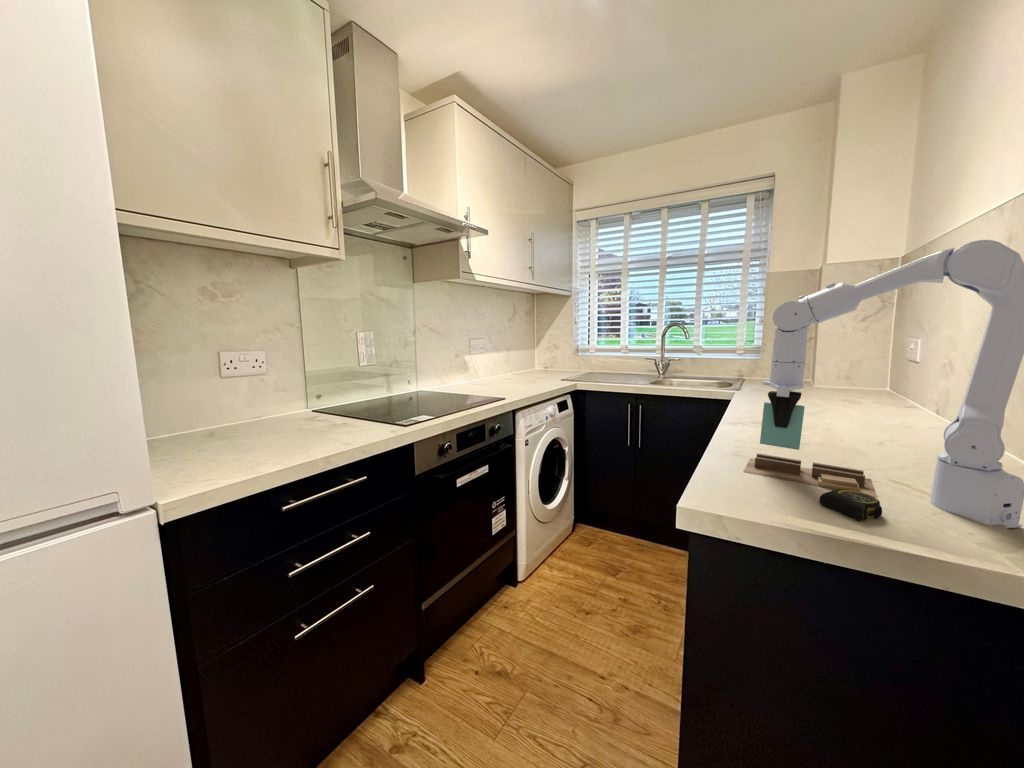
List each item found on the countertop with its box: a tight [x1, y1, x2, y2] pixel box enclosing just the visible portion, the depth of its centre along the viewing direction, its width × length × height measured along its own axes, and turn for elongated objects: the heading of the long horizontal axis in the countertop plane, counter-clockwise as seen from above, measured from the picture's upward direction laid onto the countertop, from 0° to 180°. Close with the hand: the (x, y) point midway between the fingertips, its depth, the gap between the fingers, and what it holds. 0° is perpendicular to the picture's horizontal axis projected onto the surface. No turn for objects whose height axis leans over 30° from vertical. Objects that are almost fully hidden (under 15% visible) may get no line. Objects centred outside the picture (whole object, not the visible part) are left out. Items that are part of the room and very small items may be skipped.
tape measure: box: [819, 489, 883, 522], centre depth 67 cm, size 7×7×4 cm
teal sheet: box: [759, 401, 805, 451], centre depth 86 cm, size 2×7×9 cm, turn 54°
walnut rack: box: [743, 452, 878, 498], centre depth 83 cm, size 11×21×3 cm, turn 54°
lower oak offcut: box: [818, 477, 859, 491], centre depth 77 cm, size 3×6×1 cm, turn 54°
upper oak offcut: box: [820, 474, 858, 488], centre depth 77 cm, size 3×5×1 cm, turn 59°
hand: (781, 426), depth 86 cm, fingers closed on teal sheet, 1 cm apart
